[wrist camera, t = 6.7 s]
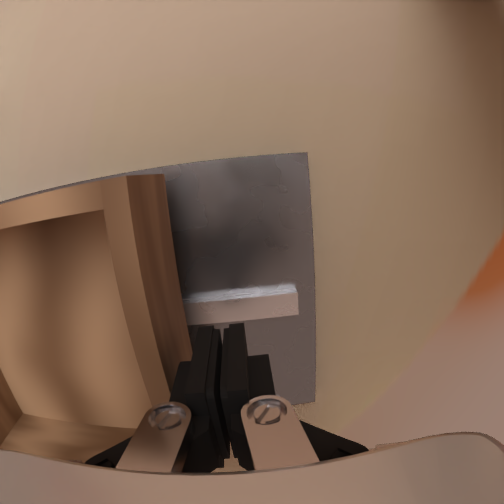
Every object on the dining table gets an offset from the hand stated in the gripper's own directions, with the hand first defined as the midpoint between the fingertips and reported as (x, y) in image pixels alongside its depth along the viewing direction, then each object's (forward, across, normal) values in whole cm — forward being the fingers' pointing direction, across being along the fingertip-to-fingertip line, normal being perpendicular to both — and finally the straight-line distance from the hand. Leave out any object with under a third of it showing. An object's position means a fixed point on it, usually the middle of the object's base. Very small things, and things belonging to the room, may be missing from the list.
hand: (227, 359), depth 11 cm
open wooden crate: (+6, +9, 0) cm, 10 cm away
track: (+6, +11, 0) cm, 12 cm away
